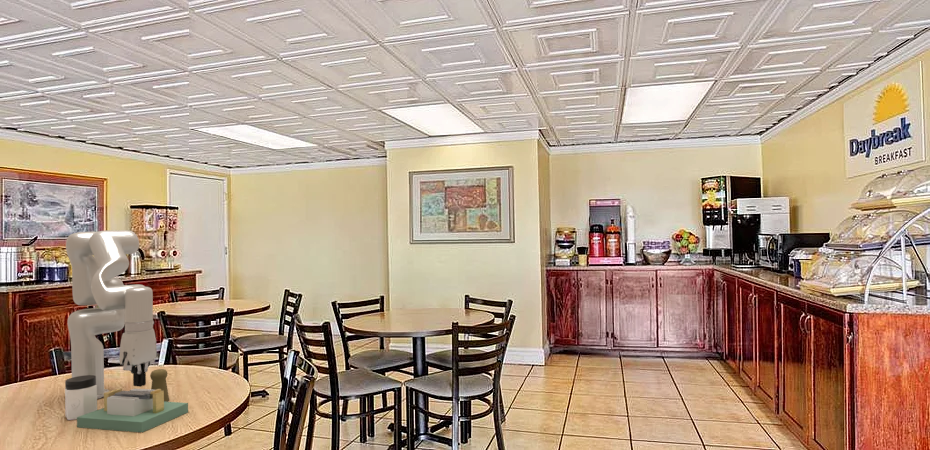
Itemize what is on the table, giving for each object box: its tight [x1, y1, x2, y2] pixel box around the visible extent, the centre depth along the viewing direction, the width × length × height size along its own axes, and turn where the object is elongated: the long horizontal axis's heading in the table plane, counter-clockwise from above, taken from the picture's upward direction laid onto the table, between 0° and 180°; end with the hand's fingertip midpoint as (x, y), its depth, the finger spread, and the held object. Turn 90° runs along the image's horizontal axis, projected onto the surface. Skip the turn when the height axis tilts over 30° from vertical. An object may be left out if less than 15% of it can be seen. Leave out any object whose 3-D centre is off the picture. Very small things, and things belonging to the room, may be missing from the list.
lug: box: [151, 389, 164, 413], centre depth 167 cm, size 2×3×6 cm, turn 165°
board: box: [76, 388, 189, 433], centre depth 169 cm, size 24×18×8 cm
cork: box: [149, 368, 170, 402], centre depth 188 cm, size 6×6×11 cm
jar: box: [64, 375, 98, 421], centre depth 175 cm, size 9×8×12 cm
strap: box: [115, 390, 154, 399], centre depth 169 cm, size 13×3×2 cm, turn 75°
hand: (139, 385), depth 169 cm, fingers closed
